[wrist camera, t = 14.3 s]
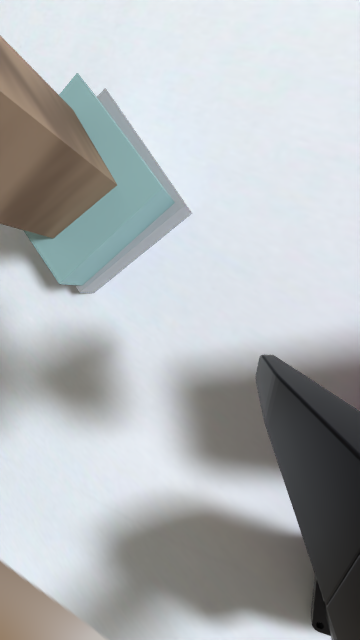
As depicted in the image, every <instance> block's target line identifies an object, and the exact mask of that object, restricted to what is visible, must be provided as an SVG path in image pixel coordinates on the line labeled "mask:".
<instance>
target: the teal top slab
mask: <svg viewBox="0 0 360 640" xmlns="http://www.w3.org/2000/svg"><path fill="white" fill-rule="evenodd" d="M59 96H60V97H61V98H62V99H63V100H64V101H65V102H66V103H67V104H68V105H69V106H70V107H71V108H72V109H73V110H74V112H75V114H76V116H77V117H78V119H79V121H80V122H81V124H82V126H83V127H84V129H85V131H86V132H87V134H88V136H89V138H90V139H91V141H92V143H93V144H94V146H95V148H96V149H97V151H98V153H99V155H100V156H101V158H102V160H103V161H104V163H105V165H106V166H107V168H108V170H109V171H110V173H111V175H112V177H113V178H114V180H115V182H116V183H117V186H116V187H114V188H113V189H112V190H111V191H110V192H109V193H107V194H106V195H105V196H104V197H103V198H101V199H100V200H99V201H98V202H97V203H95V204H94V205H93V206H92V207H91V208H89V209H88V210H87V211H86V212H85V213H83V214H82V215H81V216H80V217H79V218H77V219H76V220H75V221H74V222H73V223H71V224H70V225H69V226H68V227H67V228H65V229H64V230H63V231H62V232H61V233H60V234H58V235H57V236H56V237H55V238H50V237H46V236H43V235H39V234H36V233H32V232H29V231H25V230H24V232H25V233H26V235H27V236H28V238H29V239H30V241H31V242H32V244H33V245H34V247H35V248H36V250H37V251H38V253H39V254H40V256H41V257H42V259H43V260H44V262H45V263H46V265H47V266H48V268H49V269H50V271H51V272H52V274H53V275H54V277H55V278H56V280H57V281H58V283H59V284H65V285H81V286H83V285H84V284H85V283H86V282H87V281H88V280H89V279H90V278H91V277H93V276H94V275H95V274H96V273H97V272H98V271H99V270H100V269H102V268H103V267H104V266H105V265H106V264H107V263H108V262H109V261H110V260H112V259H113V258H114V257H115V256H116V255H117V254H118V253H119V252H120V251H122V250H123V249H124V248H125V247H126V246H127V245H128V244H129V243H131V242H132V241H133V240H134V239H135V238H136V237H137V236H138V235H139V234H141V233H142V232H143V231H144V230H145V229H146V228H147V227H148V226H149V225H151V224H152V223H153V222H154V221H155V220H156V219H157V218H158V217H159V216H161V215H162V214H163V213H164V212H165V211H166V210H167V209H168V208H169V207H171V206H172V205H173V204H174V203H175V202H174V201H173V199H172V198H171V196H170V195H169V194H168V192H167V191H166V190H165V188H164V187H163V186H162V184H161V183H160V182H159V180H158V179H157V178H156V176H155V175H154V173H153V172H152V171H151V169H150V168H149V167H148V165H147V164H146V163H145V161H144V160H143V159H142V157H141V156H140V155H139V153H138V152H137V151H136V149H135V148H134V146H133V145H132V144H131V142H130V141H129V140H128V138H127V137H126V136H125V134H124V133H123V132H122V130H121V129H120V128H119V126H118V125H117V123H116V122H115V121H114V119H113V118H112V117H111V115H110V114H109V113H108V111H107V110H106V109H105V107H104V106H103V105H102V103H101V102H100V101H99V99H98V98H97V97H96V96H95V94H94V93H93V92H92V91H91V89H90V88H89V87H88V86H87V84H86V83H85V82H84V81H83V79H82V78H81V77H80V75H79V74H78V73H77V74H76V75H75V76H74V77H73V79H72V80H71V81H70V82H69V84H68V85H67V86H66V87H65V88H64V90H63V91H62V92H61V93H60V94H59Z"/></svg>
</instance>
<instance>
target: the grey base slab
mask: <svg viewBox="0 0 360 640" xmlns="http://www.w3.org/2000/svg"><path fill="white" fill-rule="evenodd" d="M97 98H98V99H99V101H100V102H101V103H102V105H103V106H104V107H105V109H106V110H107V111H108V113H109V114H110V115H111V117H112V118H113V119H114V121H115V122H116V123H117V125H118V126H119V128H120V129H121V130H122V132H123V133H124V134H125V136H126V137H127V138H128V140H129V141H130V142H131V144H132V145H133V146H134V148H135V149H136V151H137V152H138V153H139V155H140V156H141V157H142V159H143V160H144V161H145V163H146V164H147V165H148V167H149V168H150V169H151V171H152V172H153V173H154V175H155V176H156V178H157V179H158V180H159V182H160V183H161V184H162V186H163V187H164V188H165V190H166V191H167V192H168V194H169V195H170V196H171V198H172V199H173V201H174V202H175V203H174V204H173V205H172V206H171V207H169V208H168V209H167V210H166V211H165V212H164V213H163V214H162V215H161V216H159V217H158V218H157V219H156V220H155V221H154V222H153V223H152V224H151V225H149V226H148V227H147V228H146V229H145V230H144V231H143V232H142V233H141V234H139V235H138V236H137V237H136V238H135V239H134V240H133V241H132V242H131V243H129V244H128V245H127V246H126V247H125V248H124V249H123V250H122V251H120V252H119V253H118V254H117V255H116V256H115V257H114V258H113V259H112V260H110V261H109V262H108V263H107V264H106V265H105V266H104V267H103V268H102V269H100V270H99V271H98V272H97V273H96V274H95V275H94V276H93V277H91V278H90V279H89V280H88V281H87V282H86V283H85V284H84V285H83V286H81V285H75V286H76V288H77V289H78V291H79V293H95V292H96V291H97V290H98V289H100V288H101V287H102V286H103V285H104V284H106V283H107V282H108V281H109V280H111V279H112V278H113V277H114V276H116V275H117V274H118V273H119V272H120V271H122V270H123V269H124V268H125V267H127V266H128V265H129V264H130V263H132V262H133V261H134V260H135V259H137V258H138V257H139V256H140V255H141V254H143V253H144V252H145V251H146V250H148V249H149V248H150V247H151V246H153V245H154V244H155V243H156V242H157V241H159V240H160V239H161V238H162V237H164V236H165V235H166V234H167V233H169V232H170V231H171V230H172V229H173V228H175V227H176V226H177V225H178V224H180V223H181V222H182V221H183V220H185V219H186V218H187V217H188V216H189V215H191V214H192V212H191V211H190V209H189V208H188V207H187V205H186V204H185V202H184V201H183V199H182V198H181V196H180V195H179V194H178V192H177V191H176V189H175V188H174V186H173V185H172V183H171V182H170V181H169V179H168V178H167V176H166V175H165V173H164V172H163V170H162V169H161V167H160V166H159V165H158V163H157V162H156V160H155V159H154V157H153V156H152V154H151V153H150V152H149V150H148V149H147V147H146V146H145V144H144V143H143V141H142V140H141V139H140V137H139V136H138V134H137V133H136V131H135V130H134V128H133V127H132V126H131V124H130V123H129V121H128V120H127V118H126V117H125V115H124V114H123V113H122V111H121V110H120V108H119V107H118V105H117V104H116V103H115V101H114V100H113V98H112V97H111V96H110V94H109V93H108V91H107V90H106V89H104V90H103V91H102V92H101V93H100V94H99V95H98V96H97Z"/></svg>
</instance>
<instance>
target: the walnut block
mask: <svg viewBox="0 0 360 640" xmlns="http://www.w3.org/2000/svg"><path fill="white" fill-rule="evenodd" d="M116 186H117V183H116V182H115V180H114V178H113V177H112V175H111V173H110V171H109V170H108V168H107V166H106V165H105V163H104V161H103V160H102V158H101V156H100V155H99V153H98V151H97V149H96V148H95V146H94V144H93V143H92V141H91V139H90V138H89V136H88V134H87V132H86V131H85V129H84V127H83V126H82V124H81V122H80V121H79V119H78V117H77V116H76V114H75V112H74V110H73V109H72V108H71V107H70V106H69V105H68V104H67V103H66V102H65V101H64V100H63V99H62V98H61V97H60V96H59V95H58V94H57V93H56V92H55V91H54V90H53V89H52V88H51V87H50V86H49V85H48V84H47V83H46V82H45V81H44V80H43V79H42V78H41V77H40V76H39V75H38V73H37V72H36V71H35V70H34V69H33V68H32V67H31V66H30V65H29V64H28V63H27V62H26V61H25V60H24V59H23V58H22V57H21V56H20V55H19V54H18V53H17V52H16V51H15V50H14V49H13V48H12V47H11V46H10V45H9V44H8V43H7V42H6V41H5V40H4V39H3V38H2V37H1V36H0V224H3V225H7V226H11V227H14V228H18V229H21V230H25V231H29V232H32V233H36V234H39V235H43V236H46V237H50V238H55V237H56V236H57V235H58V234H60V233H61V232H62V231H63V230H64V229H65V228H67V227H68V226H69V225H70V224H71V223H73V222H74V221H75V220H76V219H77V218H79V217H80V216H81V215H82V214H83V213H85V212H86V211H87V210H88V209H89V208H91V207H92V206H93V205H94V204H95V203H97V202H98V201H99V200H100V199H101V198H103V197H104V196H105V195H106V194H107V193H109V192H110V191H111V190H112V189H113V188H114V187H116Z"/></svg>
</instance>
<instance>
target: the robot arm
mask: <svg viewBox="0 0 360 640" xmlns="http://www.w3.org/2000/svg"><path fill="white" fill-rule="evenodd" d="M256 384H257V389H258V393H259V398H260V403H261V408H262V413H263V417H264V422H265V425H266V429H267V432H268V435H269V438H270V441H271V444H272V447H273V450H274V453H275V456H276V459H277V462H278V465H279V468H280V471H281V474H282V476H283V479H284V482H285V485H286V488H287V491H288V494H289V497H290V500H291V503H292V506H293V509H294V512H295V515H296V518H297V521H298V524H299V527H300V530H301V533H302V536H303V539H304V542H305V545H306V548H307V551H308V554H309V557H310V560H311V563H312V566H313V569H314V572H315V582H314V592H313V602H312V611H311V620H312V626H313V627H314V629H315V630H316V631H318V632H321V633H324V634H327V635H330V636H331V638H332V640H360V411H359V410H357V409H356V408H354V407H352V406H351V405H349V404H348V403H346V402H345V401H343V400H342V399H340V398H339V397H337V396H336V395H334V394H332V393H331V392H329V391H328V390H326V389H325V388H323V387H322V386H320V385H319V384H317V383H316V382H314V381H312V380H311V379H309V378H308V377H306V376H305V375H303V374H302V373H300V372H299V371H297V370H296V369H294V368H292V367H291V366H289V365H288V364H286V363H285V362H283V361H282V360H280V359H279V358H277V357H276V356H274V355H261V356H260V358H259V362H258V367H257V373H256Z"/></svg>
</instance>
